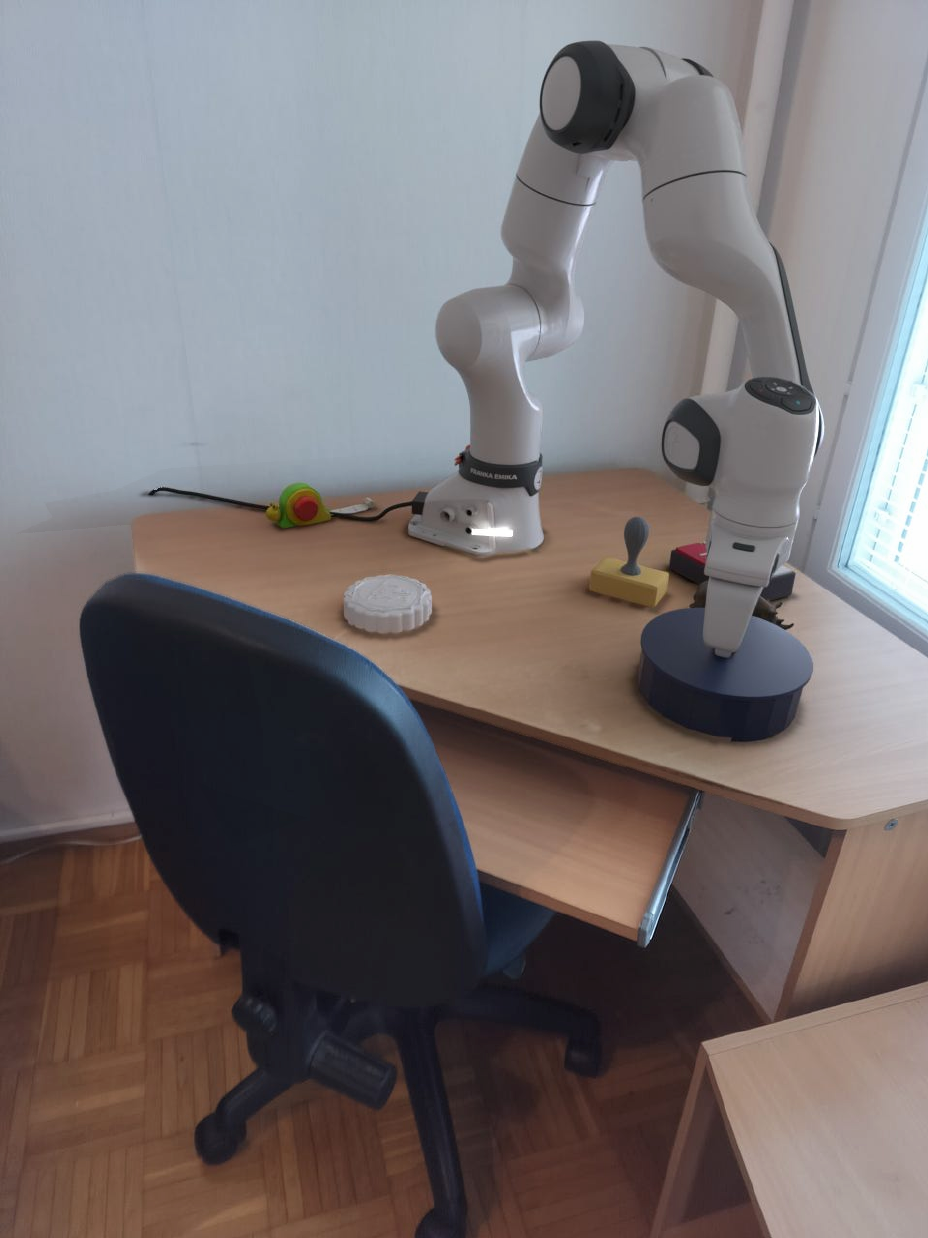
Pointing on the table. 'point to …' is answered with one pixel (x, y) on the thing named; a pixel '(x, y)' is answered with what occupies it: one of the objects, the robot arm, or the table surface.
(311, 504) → the toy measuring tape
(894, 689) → the table surface
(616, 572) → the rubber stamp
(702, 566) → the calculator
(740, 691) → the pan lid
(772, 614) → the rhino figurine
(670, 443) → the robot arm
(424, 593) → the mooncake
